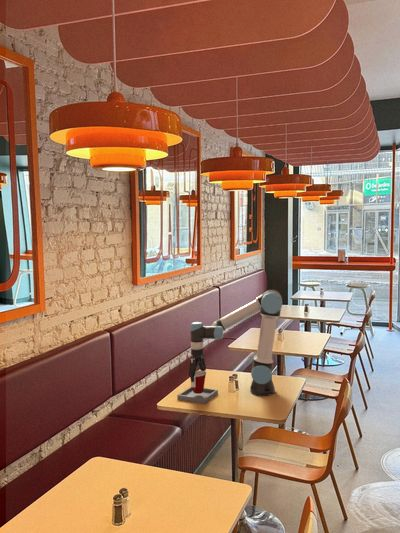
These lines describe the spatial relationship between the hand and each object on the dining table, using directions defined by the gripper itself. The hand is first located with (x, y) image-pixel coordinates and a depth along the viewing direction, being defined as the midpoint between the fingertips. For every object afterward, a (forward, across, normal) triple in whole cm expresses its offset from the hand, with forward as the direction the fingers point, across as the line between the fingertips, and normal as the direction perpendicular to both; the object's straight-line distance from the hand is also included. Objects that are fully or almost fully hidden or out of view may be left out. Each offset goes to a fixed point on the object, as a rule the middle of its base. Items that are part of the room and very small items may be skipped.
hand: (197, 384), depth 296 cm
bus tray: (+8, 0, 0) cm, 8 cm away
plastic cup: (+5, 0, 0) cm, 5 cm away
